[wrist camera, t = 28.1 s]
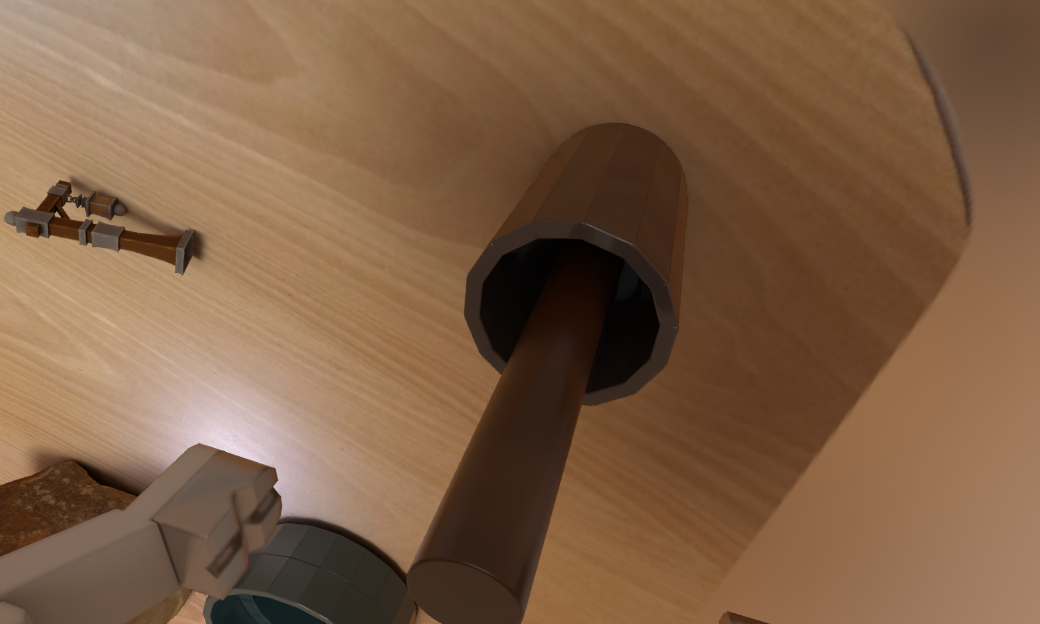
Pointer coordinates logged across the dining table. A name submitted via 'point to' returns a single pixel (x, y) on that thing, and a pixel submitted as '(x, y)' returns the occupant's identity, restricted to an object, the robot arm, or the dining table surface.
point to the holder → (608, 225)
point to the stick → (517, 454)
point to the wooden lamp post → (98, 227)
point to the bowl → (313, 584)
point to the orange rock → (66, 517)
